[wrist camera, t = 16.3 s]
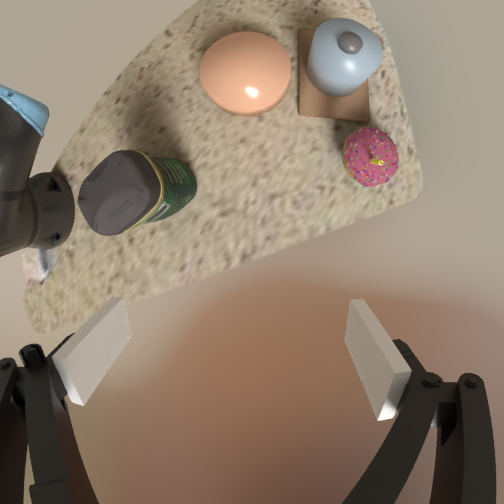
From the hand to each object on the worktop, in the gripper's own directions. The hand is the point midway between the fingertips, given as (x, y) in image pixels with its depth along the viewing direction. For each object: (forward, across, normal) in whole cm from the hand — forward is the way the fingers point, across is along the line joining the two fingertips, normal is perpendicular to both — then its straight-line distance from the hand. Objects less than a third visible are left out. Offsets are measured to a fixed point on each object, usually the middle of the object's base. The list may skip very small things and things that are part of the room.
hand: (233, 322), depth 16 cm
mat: (+30, +13, +25) cm, 41 cm away
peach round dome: (+31, 0, +23) cm, 38 cm away
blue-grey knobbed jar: (+29, +13, +25) cm, 40 cm away
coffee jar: (+30, -13, +6) cm, 34 cm away
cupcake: (+30, +17, +10) cm, 36 cm away
